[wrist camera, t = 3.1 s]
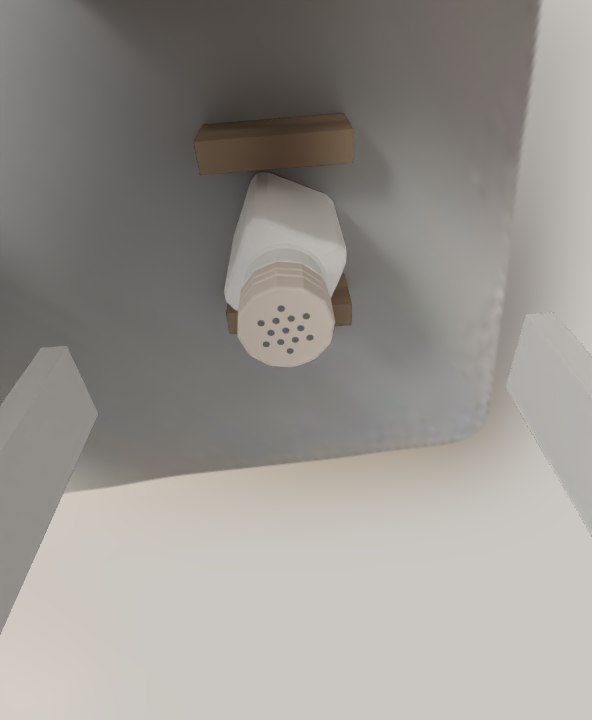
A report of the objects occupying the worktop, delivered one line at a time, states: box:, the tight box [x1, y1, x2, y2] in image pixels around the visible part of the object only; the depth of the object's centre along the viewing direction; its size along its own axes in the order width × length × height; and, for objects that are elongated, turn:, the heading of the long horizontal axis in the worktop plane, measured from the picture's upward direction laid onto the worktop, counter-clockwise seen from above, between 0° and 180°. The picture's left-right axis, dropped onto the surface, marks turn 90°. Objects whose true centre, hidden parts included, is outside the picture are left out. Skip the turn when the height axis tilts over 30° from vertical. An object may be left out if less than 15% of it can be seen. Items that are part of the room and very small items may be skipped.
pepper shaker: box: [224, 172, 347, 367], centre depth 19 cm, size 4×4×10 cm
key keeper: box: [194, 113, 353, 334], centre depth 21 cm, size 6×9×3 cm
